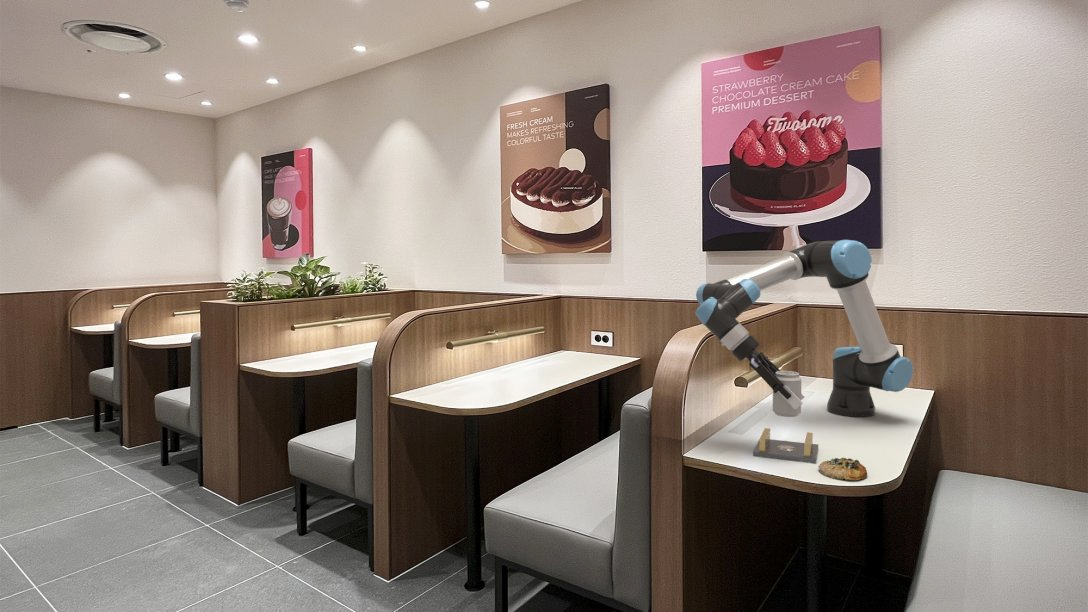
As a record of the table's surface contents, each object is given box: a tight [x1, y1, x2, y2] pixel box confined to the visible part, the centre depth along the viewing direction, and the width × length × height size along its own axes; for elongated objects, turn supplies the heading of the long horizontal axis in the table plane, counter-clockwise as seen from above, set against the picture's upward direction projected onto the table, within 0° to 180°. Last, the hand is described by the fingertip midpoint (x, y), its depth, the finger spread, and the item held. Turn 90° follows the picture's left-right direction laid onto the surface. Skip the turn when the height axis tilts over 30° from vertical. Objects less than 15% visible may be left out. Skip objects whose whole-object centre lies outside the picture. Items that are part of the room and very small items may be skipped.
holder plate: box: [752, 427, 819, 464], centre depth 174 cm, size 16×14×5 cm
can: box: [772, 370, 802, 418], centre depth 173 cm, size 8×8×12 cm
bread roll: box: [818, 457, 868, 481], centre depth 156 cm, size 11×11×5 cm
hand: (800, 403), depth 172 cm, fingers closed on can, 7 cm apart
